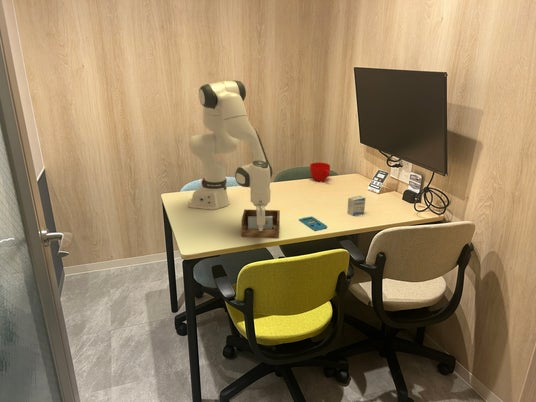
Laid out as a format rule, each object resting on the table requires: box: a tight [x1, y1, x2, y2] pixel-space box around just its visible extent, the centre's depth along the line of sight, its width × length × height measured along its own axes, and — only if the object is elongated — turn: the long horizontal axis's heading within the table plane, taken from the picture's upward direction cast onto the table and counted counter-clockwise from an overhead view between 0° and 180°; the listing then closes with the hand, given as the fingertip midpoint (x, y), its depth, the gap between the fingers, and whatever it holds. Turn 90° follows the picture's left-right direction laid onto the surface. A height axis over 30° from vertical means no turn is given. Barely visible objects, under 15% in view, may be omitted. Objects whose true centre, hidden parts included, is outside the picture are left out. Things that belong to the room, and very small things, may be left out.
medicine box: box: [346, 195, 366, 217], centre depth 205 cm, size 8×4×9 cm, turn 117°
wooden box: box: [240, 208, 281, 239], centre depth 184 cm, size 17×14×8 cm
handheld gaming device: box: [298, 216, 328, 232], centre depth 193 cm, size 8×1×15 cm
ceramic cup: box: [309, 162, 331, 182], centre depth 255 cm, size 13×17×10 cm
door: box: [248, 216, 272, 230], centre depth 179 cm, size 11×3×8 cm, turn 92°
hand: (260, 225), depth 180 cm, fingers open, 8 cm apart
